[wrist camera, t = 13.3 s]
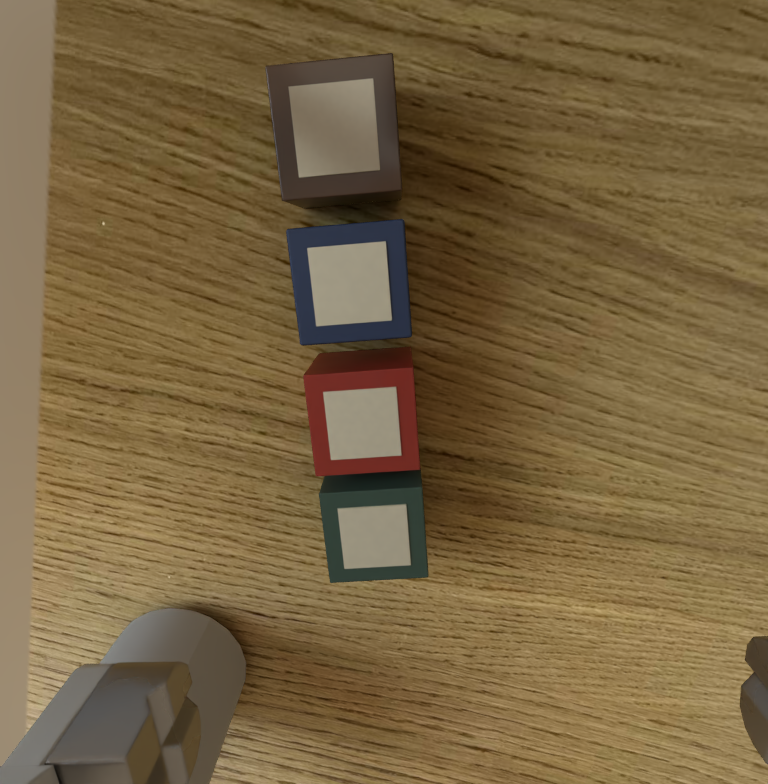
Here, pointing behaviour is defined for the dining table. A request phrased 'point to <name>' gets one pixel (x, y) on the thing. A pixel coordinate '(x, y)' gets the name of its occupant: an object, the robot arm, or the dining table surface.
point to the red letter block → (363, 412)
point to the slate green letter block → (374, 526)
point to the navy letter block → (350, 282)
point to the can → (191, 669)
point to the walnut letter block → (336, 130)
